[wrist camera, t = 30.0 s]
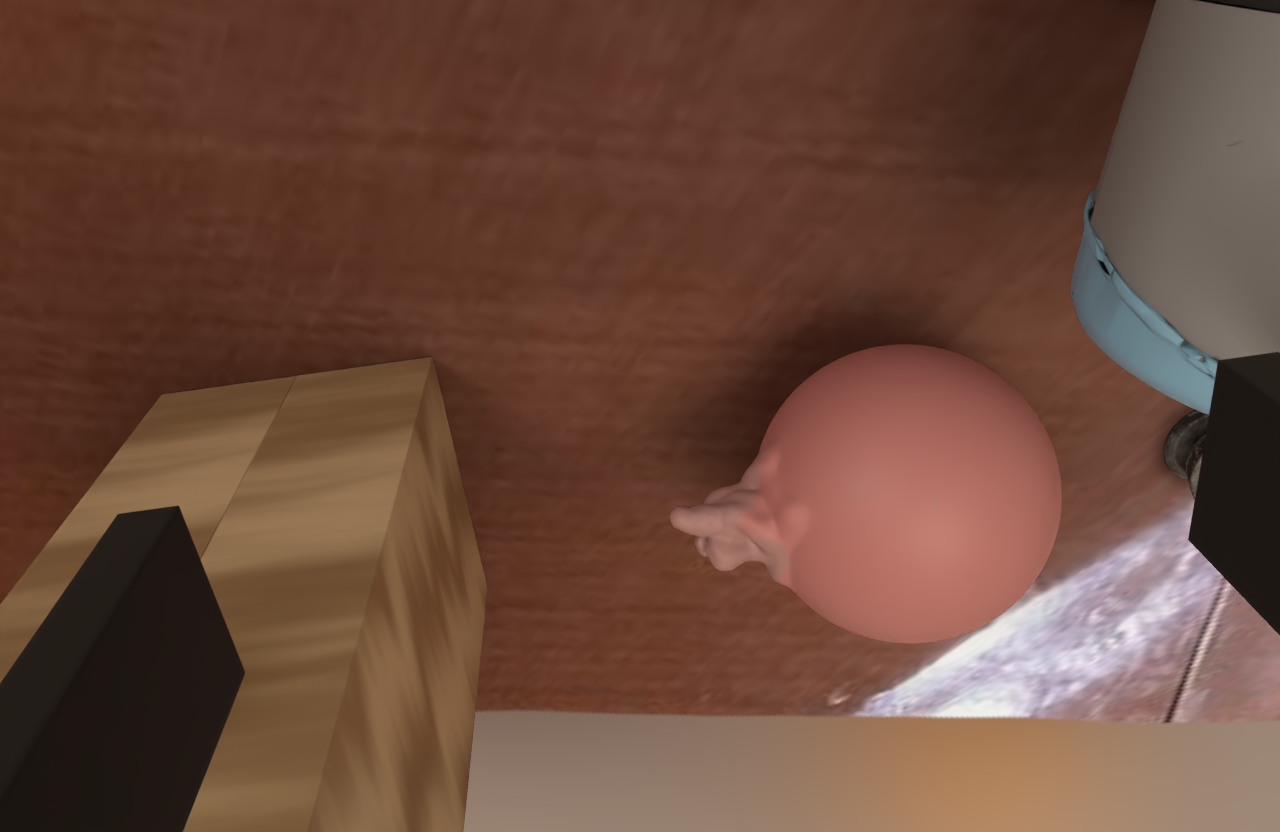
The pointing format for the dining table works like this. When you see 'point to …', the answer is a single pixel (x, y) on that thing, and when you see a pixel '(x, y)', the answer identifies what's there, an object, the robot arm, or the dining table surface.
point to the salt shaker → (1187, 447)
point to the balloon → (894, 496)
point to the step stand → (312, 592)
